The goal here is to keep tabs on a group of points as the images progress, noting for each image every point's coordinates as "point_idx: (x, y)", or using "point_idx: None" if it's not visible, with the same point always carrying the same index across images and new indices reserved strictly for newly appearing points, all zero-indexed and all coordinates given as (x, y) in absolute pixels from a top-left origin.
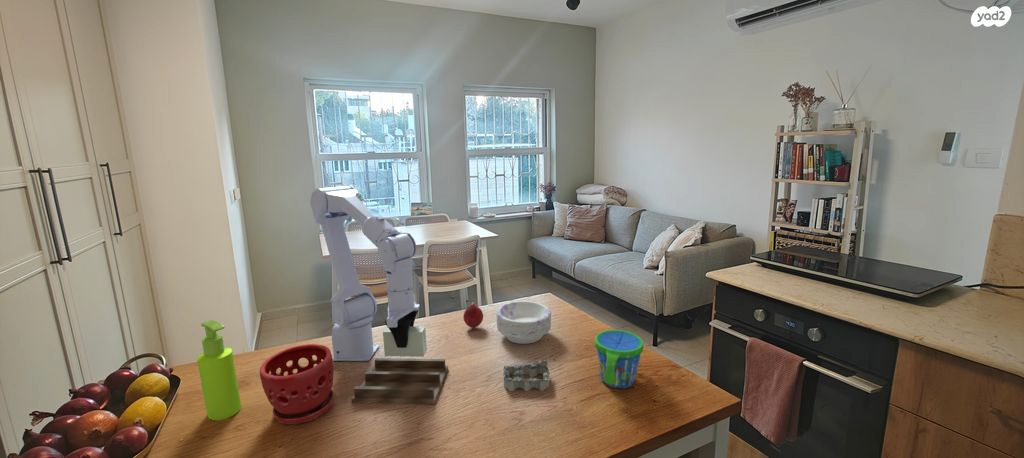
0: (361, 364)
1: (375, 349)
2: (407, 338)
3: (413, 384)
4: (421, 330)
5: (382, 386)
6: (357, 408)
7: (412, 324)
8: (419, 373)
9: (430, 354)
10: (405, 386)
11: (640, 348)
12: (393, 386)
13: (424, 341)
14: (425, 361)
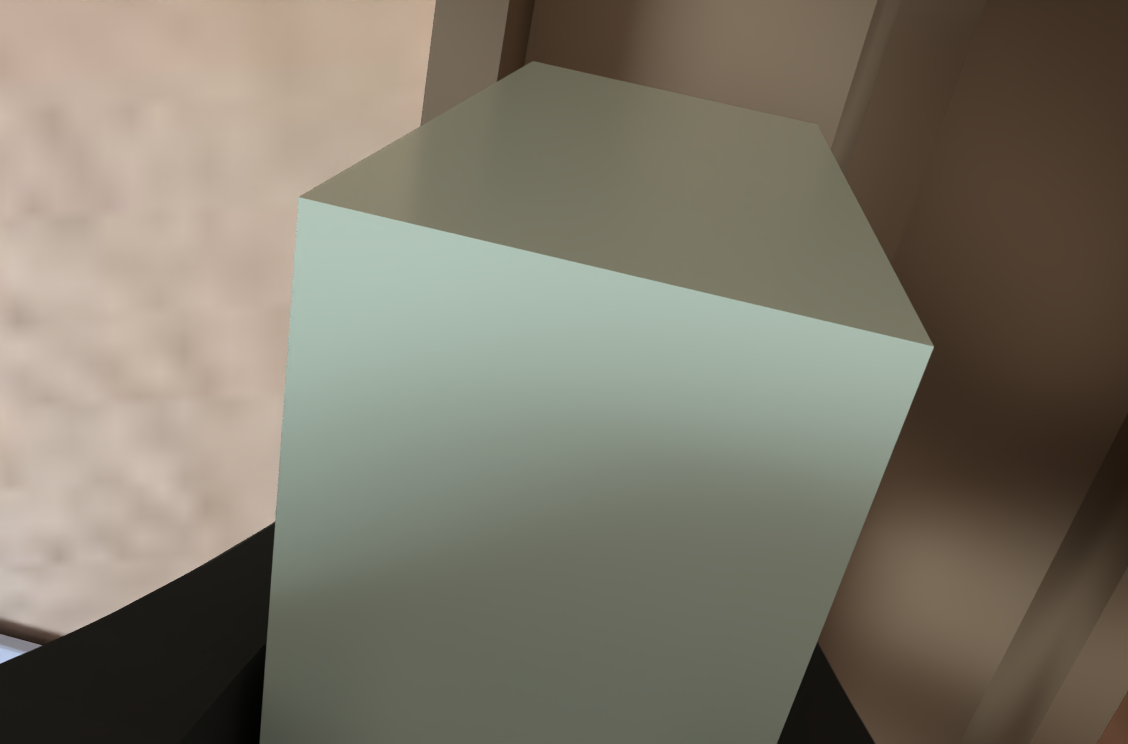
0: None
1: (16, 655)
2: (799, 697)
3: (931, 224)
4: (716, 365)
5: (857, 577)
6: (1110, 741)
7: (200, 721)
8: (894, 161)
9: (53, 11)
10: (946, 326)
11: None
12: (894, 464)
13: (639, 143)
14: (498, 75)
